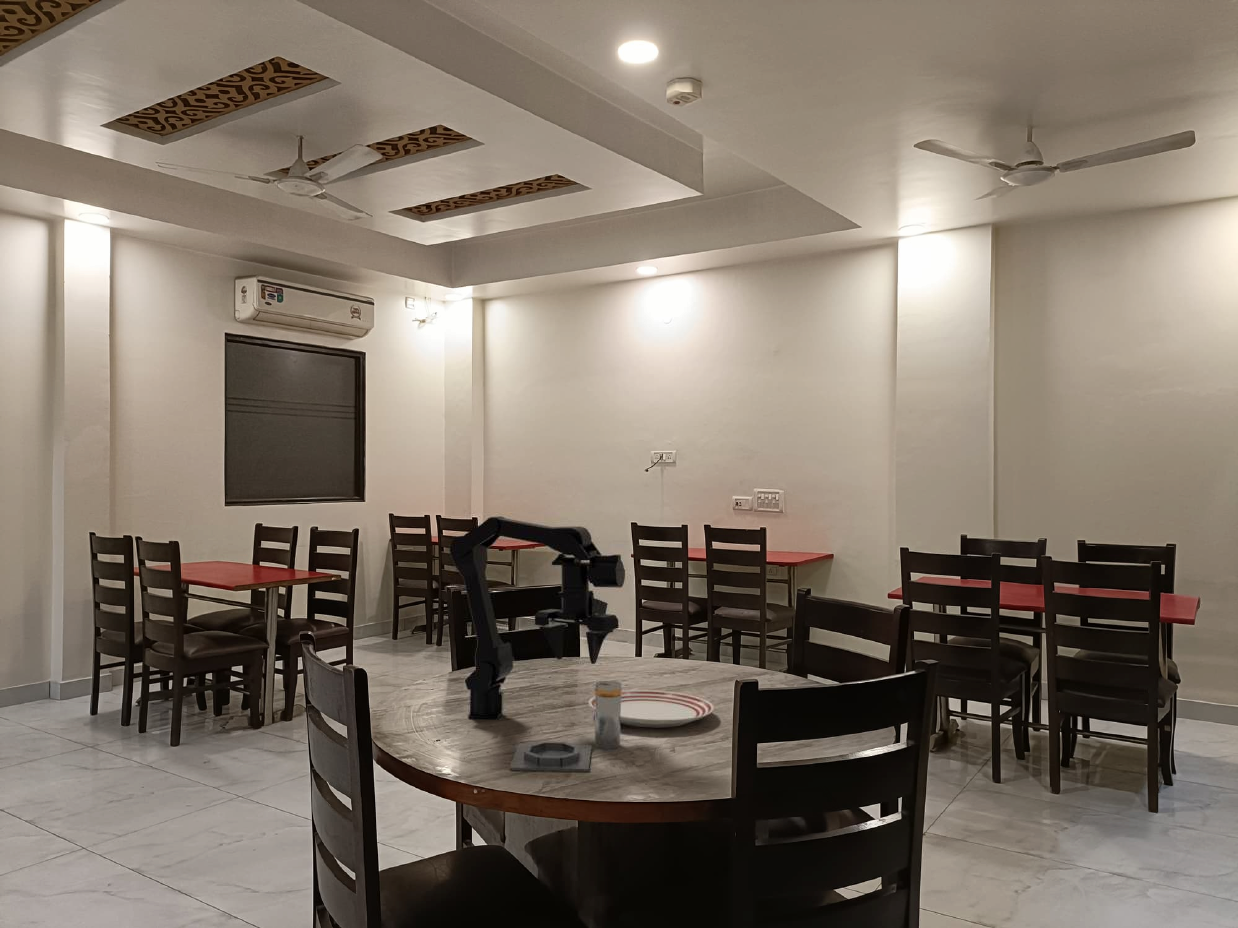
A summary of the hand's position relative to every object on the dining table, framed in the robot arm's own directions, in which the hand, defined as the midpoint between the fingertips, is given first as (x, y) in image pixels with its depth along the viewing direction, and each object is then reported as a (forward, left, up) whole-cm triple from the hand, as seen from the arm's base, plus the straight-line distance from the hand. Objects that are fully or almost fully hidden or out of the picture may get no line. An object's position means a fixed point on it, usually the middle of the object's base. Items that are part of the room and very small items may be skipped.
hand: (576, 661), depth 190 cm
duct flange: (-3, -22, -13) cm, 26 cm away
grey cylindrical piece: (+7, -13, -13) cm, 20 cm away
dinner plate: (+16, +9, -14) cm, 23 cm away
